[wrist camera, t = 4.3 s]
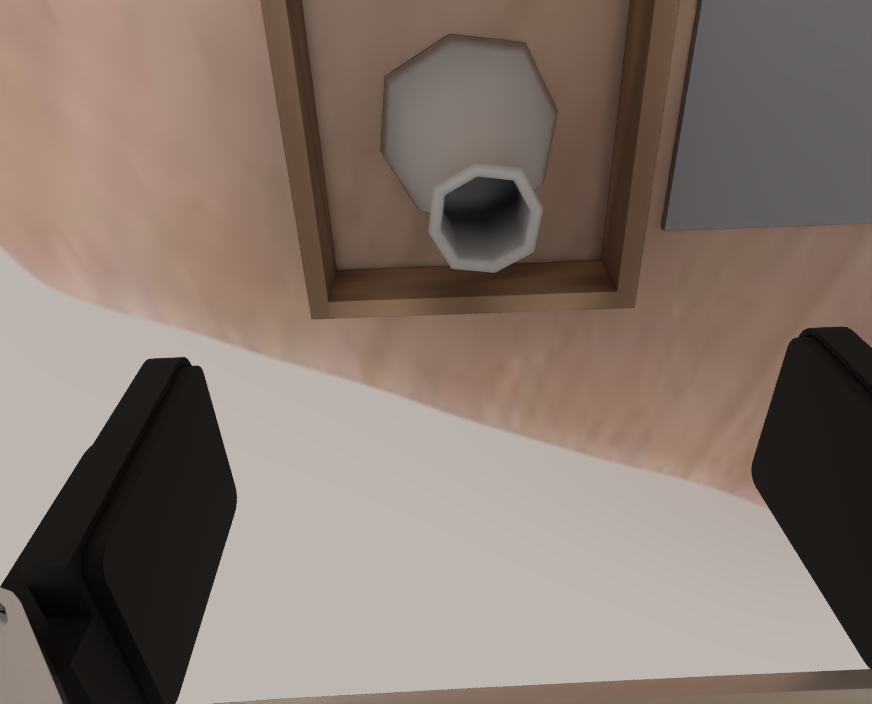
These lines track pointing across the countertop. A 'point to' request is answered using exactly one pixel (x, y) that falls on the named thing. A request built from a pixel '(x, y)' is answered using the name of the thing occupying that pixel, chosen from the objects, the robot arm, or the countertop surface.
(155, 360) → the robot arm
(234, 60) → the countertop surface
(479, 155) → the flask
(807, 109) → the charcoal mat
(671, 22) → the walnut frame
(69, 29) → the countertop surface
